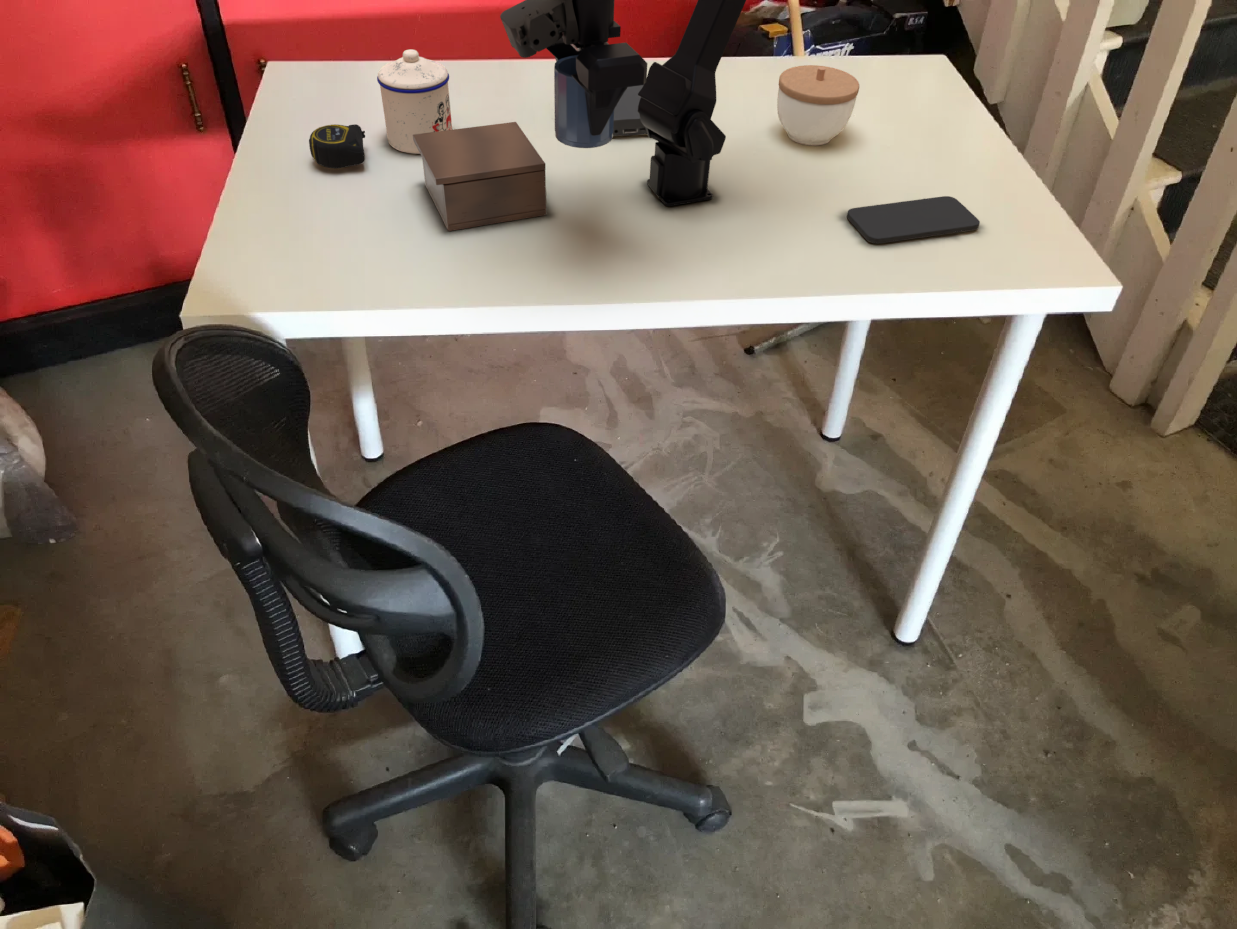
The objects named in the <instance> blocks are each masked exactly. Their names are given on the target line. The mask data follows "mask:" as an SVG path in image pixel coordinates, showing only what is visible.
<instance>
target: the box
mask: <svg viewBox="0 0 1237 929" xmlns="http://www.w3.org/2000/svg"><path fill="white" fill-rule="evenodd" d="M421 161H422V167H423V168H422V169H423V177H424V184H425V187H426V189H427V191H428V193H429V196H430V198H431V199H432V201H433V203H434V205H435V208H436V210H437V211H438V214H439V215H440V217H441V219H442V221H443V223H444V225H445V228H446V230H447V232H451V231H453V232H454V231H457V230H458V231H459V230H464V229H470V228H477V227H483V226H487V225H494V224H501V223H505V222H513V221H519V220H525V219H530V218H536V217H542V216H546V215H547V186H546V185H547V184H546V183H547V182H546V181H547V180H546V178H547V177H546V169H545V170H540V171H533V172H526V173H519V174H512V175H505V176H498V177H491V178H484V179H477V180H470V181H463V182H456V183H449V184H442V185H436V184H435V182H434V180H433V178H432V176H431V174H430V172H429V170H428V168H427V166H426V164H425V162H424V160H423V158H422V157H421Z"/></svg>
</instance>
